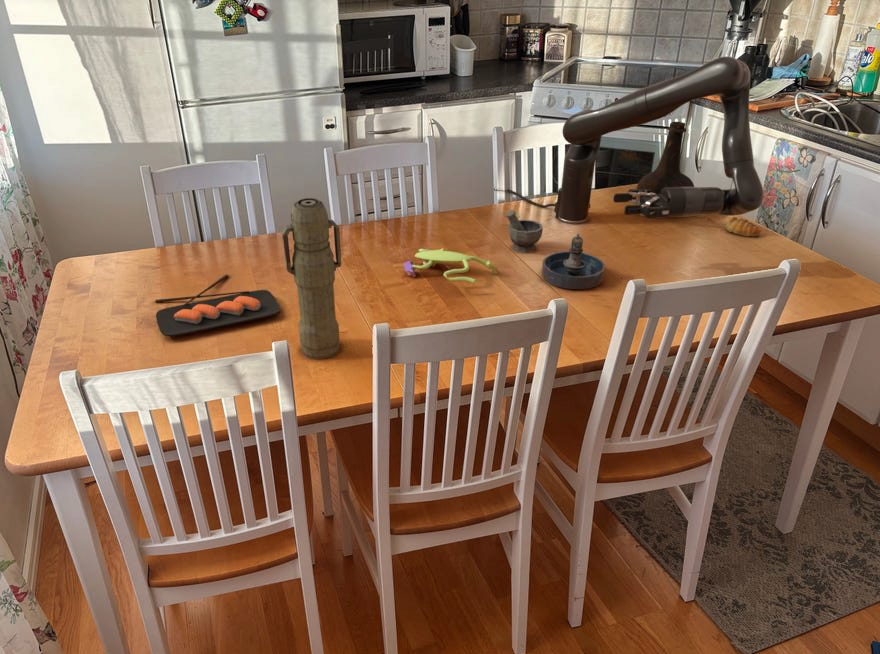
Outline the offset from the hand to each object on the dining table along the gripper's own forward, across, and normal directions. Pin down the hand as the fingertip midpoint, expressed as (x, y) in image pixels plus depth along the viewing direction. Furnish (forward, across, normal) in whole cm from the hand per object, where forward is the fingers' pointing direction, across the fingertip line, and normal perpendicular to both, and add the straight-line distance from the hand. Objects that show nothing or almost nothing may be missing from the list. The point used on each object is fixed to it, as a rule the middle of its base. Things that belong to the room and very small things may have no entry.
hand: (619, 203), depth 186 cm
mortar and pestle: (+19, -20, +21) cm, 35 cm away
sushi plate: (+105, +6, +21) cm, 107 cm away
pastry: (-50, -25, +20) cm, 59 cm away
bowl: (+10, 0, +20) cm, 23 cm away
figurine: (+42, -5, +21) cm, 48 cm away
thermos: (+77, +31, +21) cm, 85 cm away
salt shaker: (+10, 0, +20) cm, 22 cm away
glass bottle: (-32, -45, +20) cm, 59 cm away
